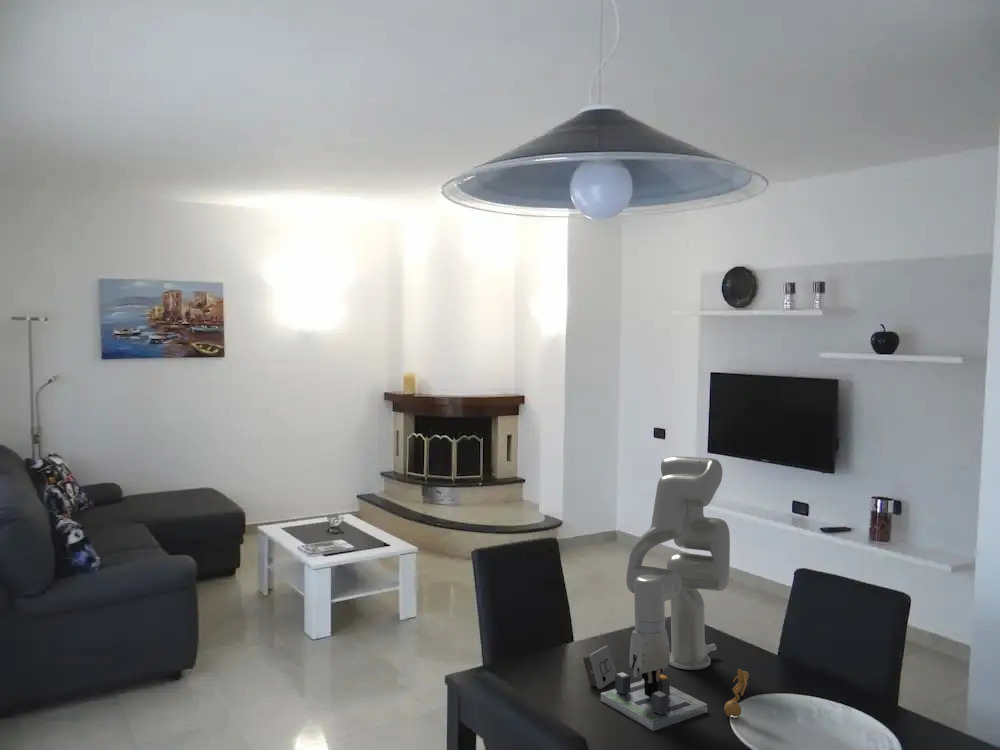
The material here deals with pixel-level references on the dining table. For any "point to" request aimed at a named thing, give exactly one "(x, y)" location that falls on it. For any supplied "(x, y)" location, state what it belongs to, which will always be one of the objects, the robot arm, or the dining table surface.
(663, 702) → the block
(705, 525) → the robot arm
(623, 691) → the breaker
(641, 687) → the panel
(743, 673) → the figurine
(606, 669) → the electrical switch
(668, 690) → the breaker mid
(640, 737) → the dining table surface
